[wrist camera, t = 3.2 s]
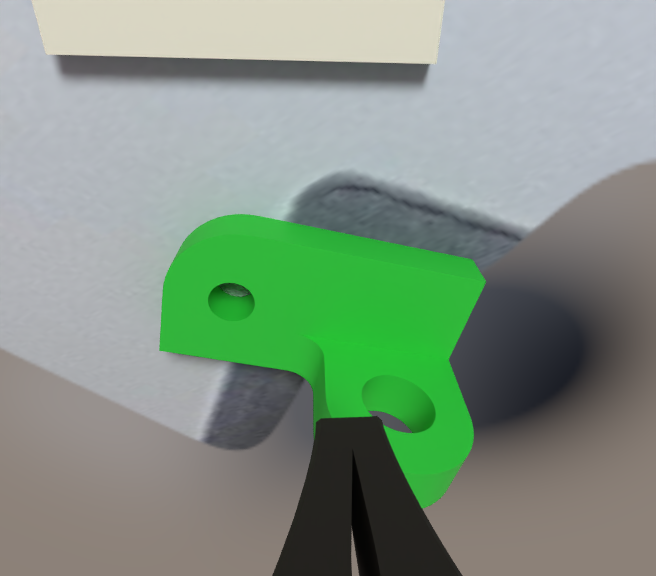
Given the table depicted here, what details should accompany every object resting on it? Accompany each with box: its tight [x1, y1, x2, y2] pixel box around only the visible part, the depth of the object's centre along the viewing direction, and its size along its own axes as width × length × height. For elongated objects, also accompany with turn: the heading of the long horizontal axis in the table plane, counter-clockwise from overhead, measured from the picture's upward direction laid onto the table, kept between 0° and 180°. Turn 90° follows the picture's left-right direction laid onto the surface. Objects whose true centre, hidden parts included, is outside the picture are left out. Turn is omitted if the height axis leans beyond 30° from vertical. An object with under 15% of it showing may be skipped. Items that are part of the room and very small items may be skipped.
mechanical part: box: [159, 214, 486, 508], centre depth 17 cm, size 12×6×8 cm, turn 77°
